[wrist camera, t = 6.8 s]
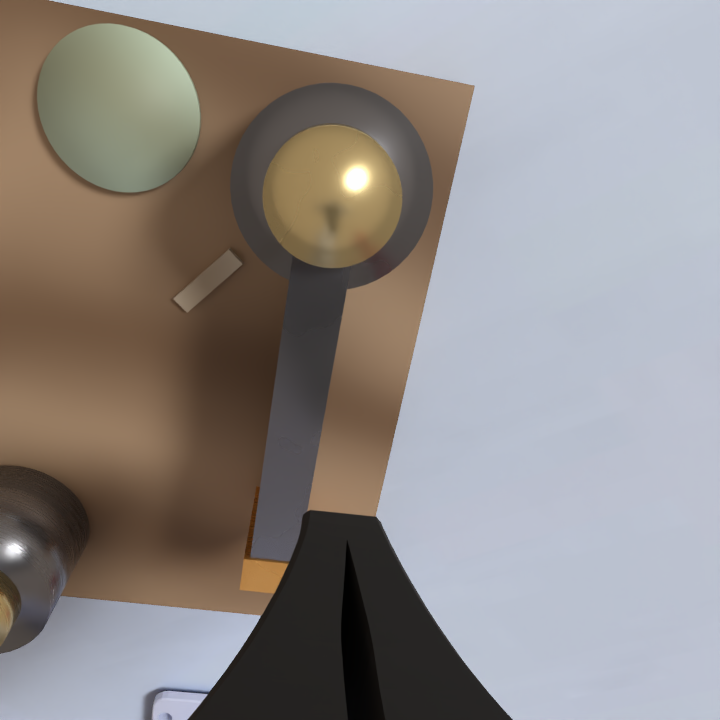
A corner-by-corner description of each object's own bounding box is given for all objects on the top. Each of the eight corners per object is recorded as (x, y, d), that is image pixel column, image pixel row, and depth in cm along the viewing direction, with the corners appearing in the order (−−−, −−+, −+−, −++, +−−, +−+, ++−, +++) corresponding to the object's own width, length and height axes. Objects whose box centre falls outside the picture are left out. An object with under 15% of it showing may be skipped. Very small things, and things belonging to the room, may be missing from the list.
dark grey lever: (258, 66, 14) (235, 62, 11) (430, 100, 15) (462, 106, 11) (211, 506, 19) (185, 601, 16) (343, 521, 19) (346, 616, 16)
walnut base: (349, 591, 23) (351, 631, 21) (-143, 540, 21) (-183, 579, 19) (462, 85, 16) (477, 86, 15) (-239, -55, 14) (-312, -73, 13)
